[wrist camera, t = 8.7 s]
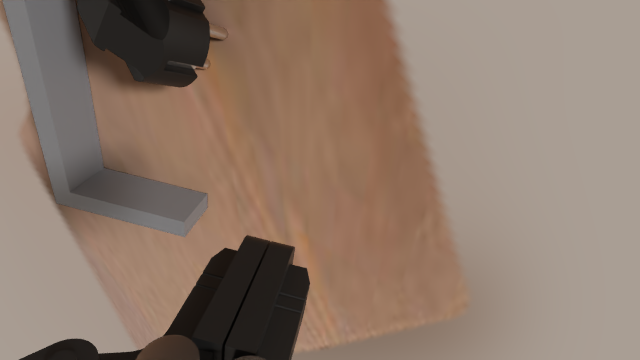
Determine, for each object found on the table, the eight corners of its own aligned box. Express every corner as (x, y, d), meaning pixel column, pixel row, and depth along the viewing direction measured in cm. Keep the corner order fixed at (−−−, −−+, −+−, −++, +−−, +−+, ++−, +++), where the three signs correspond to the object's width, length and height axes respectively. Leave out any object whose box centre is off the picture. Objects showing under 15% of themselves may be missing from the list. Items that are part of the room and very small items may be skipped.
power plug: (62, -127, 22) (137, 8, 18) (181, -67, 28) (258, 44, 24) (38, -37, 25) (99, 97, 21) (151, 0, 31) (215, 109, 27)
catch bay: (33, -114, 23) (-31, -124, 20) (206, -82, 22) (170, -87, 19) (90, 178, 34) (56, 203, 31) (207, 207, 33) (184, 237, 30)
